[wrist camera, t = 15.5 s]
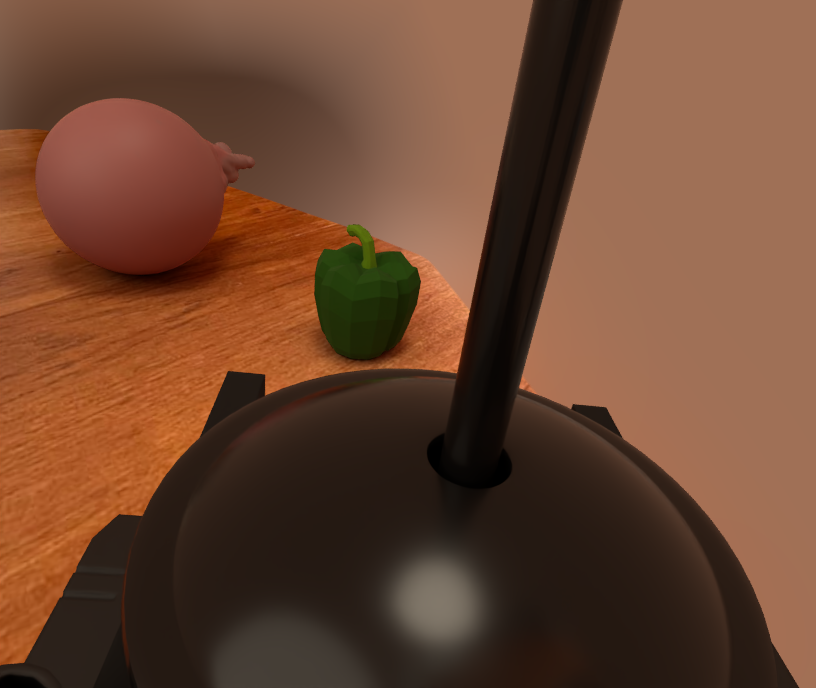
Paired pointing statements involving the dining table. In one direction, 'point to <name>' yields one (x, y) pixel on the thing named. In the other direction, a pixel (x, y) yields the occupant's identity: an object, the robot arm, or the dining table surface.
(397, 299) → the bell pepper
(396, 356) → the dining table surface
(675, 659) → the drinking cup
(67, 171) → the balloon
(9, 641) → the dining table surface
